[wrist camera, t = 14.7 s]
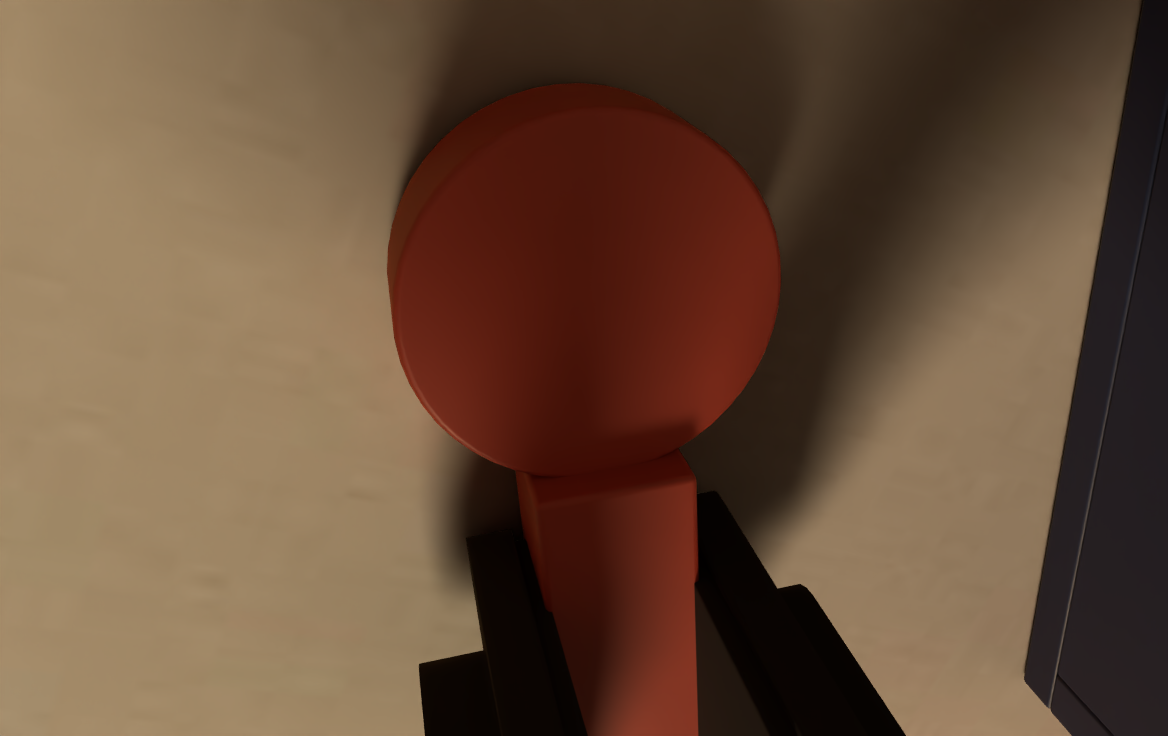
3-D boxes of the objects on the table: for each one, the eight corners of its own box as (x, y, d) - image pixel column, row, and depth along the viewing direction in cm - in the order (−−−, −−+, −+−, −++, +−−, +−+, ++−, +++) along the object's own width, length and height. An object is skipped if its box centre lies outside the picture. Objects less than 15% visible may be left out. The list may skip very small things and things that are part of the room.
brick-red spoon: (738, 737, 13) (784, 836, 12) (478, 797, 13) (495, 910, 11) (738, 60, 9) (809, 91, 8) (355, 104, 9) (358, 147, 7)
